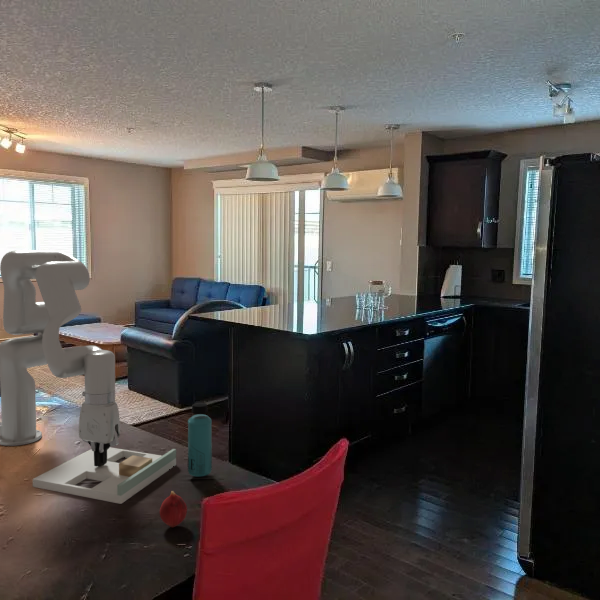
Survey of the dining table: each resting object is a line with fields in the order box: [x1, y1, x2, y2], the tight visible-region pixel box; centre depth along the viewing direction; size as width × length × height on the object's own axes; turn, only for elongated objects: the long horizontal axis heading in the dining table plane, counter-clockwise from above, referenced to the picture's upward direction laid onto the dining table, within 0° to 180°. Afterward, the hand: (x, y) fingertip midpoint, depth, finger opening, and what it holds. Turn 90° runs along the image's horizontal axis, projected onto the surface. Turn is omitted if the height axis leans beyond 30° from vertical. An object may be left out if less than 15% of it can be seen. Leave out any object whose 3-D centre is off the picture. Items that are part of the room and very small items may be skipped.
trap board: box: [32, 447, 177, 504], centre depth 145 cm, size 26×25×4 cm
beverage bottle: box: [186, 402, 213, 477], centre depth 145 cm, size 6×7×20 cm
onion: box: [159, 490, 188, 528], centre depth 120 cm, size 6×6×8 cm
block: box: [118, 455, 152, 477], centre depth 143 cm, size 6×6×3 cm
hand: (100, 464), depth 146 cm, fingers closed
